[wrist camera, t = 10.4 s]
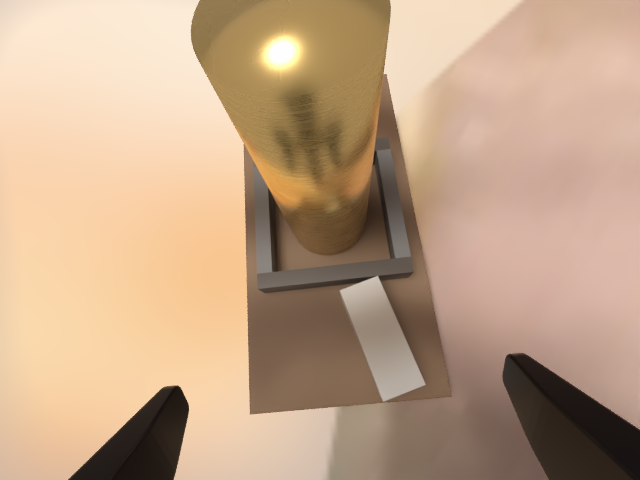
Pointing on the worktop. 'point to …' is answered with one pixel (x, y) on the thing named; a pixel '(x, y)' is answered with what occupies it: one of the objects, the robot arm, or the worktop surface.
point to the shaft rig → (342, 300)
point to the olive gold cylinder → (302, 102)
